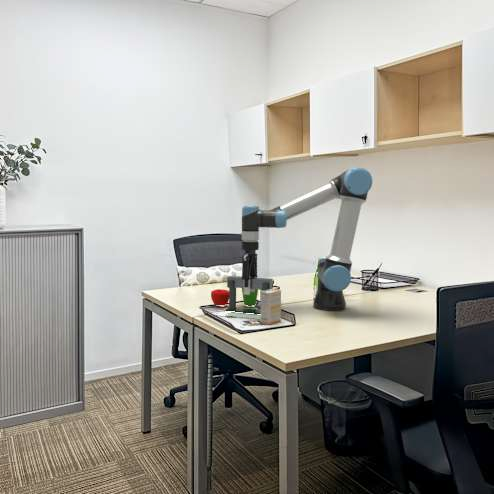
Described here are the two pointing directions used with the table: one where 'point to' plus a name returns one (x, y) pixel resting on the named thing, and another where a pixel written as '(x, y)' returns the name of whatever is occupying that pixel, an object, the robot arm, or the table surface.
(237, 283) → the rail
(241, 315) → the pad
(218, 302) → the apple
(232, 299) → the standards
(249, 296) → the cup
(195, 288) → the table surface
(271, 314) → the supplement box
